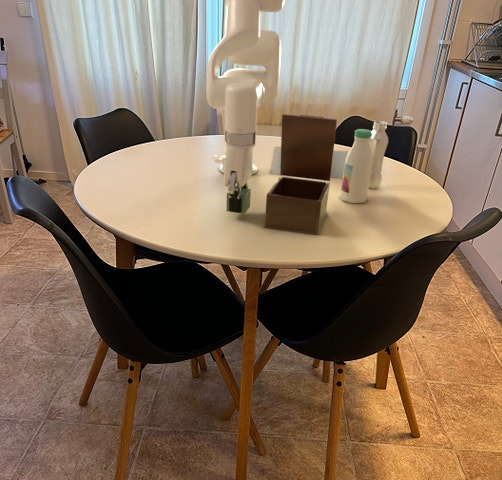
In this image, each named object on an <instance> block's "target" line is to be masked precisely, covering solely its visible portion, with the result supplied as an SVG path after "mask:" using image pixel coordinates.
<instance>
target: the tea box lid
mask: <svg viewBox="0 0 502 480" xmlns="http://www.w3.org/2000/svg"><path fill="white" fill-rule="evenodd" d="M337 123H338V118H337V119H336V118H328V117H327V118H326V117H324V116H319V115H310V114H309V115H308V114H307V115H306V114H300V115H294V114H285V113H282V115H281V135H280V137H281V139H280V148H281V164H280V174H279V175H280V176H282V177H290V178H298V179H306V180H314V181H323V182H330V181H331V178H332V177H331V169H332V160H333V151H335V150H334V149H335V141H336V132H337Z"/></svg>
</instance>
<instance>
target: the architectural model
mask: <svg viewBox="0 0 502 480" xmlns="http://www.w3.org/2000/svg"><path fill="white" fill-rule="evenodd" d="M348 153H349V152H348V151H340V150H334V151H333V160H332V169H331V178H334V179H343V174H344V168H345V162H346V158H347V155H348ZM280 164H281V146H280V147H277V146H276V148H275V154H274V157H273V163H272V168H271V172H270V173H271V174H276V175H280Z"/></svg>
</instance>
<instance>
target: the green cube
mask: <svg viewBox="0 0 502 480" xmlns="http://www.w3.org/2000/svg"><path fill="white" fill-rule="evenodd" d="M235 190H237V192H238V189H237V188H235ZM251 191H252V190H251V188H248V189H246V188H241V197H240V198H242V208H241V213H240V214H246V213H247V211H249V209H250V208H251ZM226 212H230V211H229V192H228V191H227V192H226Z"/></svg>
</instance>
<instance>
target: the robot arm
mask: <svg viewBox="0 0 502 480" xmlns="http://www.w3.org/2000/svg"><path fill="white" fill-rule="evenodd" d="M285 1H286V0H224V3H225V6H226V9H225V11H226V12H225V34H224V36H223V37H222V38H221V40H220V41H218V43H217V44H216V45H215V46H214V49H213V50H212V52H211V53H210V56H209V57H208V61H207V67H206V86H205V87H206V88H205V89H206V90H205V91H206V93H205V94H206V100H207V103H208V105H209V107H211V108H212V109H214V110H215V109H216V110H224V155H222V156H220V155H216V154H214V155H212V156H213V157H212V160H213V162H214V163H215V164H220V165H219V171H220V172H221V173H223V185H224V186H225V187H227V186H228V189H227V192H229V211H228V212H230V213H235V214H242V213H241V208H242V198H240V197H241V188H246V189H249V181H250V179H251V177H252V175H254V174H256V173H257V172H258V167H257V166H256V165H255V164H254V148H255V146H256V144H257V143H256V141H257V140H256V139H257V119H258V109H260V108H261V106H262V105H263V104H272V103H274V102H275V101H276V100H277V99H278V95H279V89H280V77H281V76H280V75H281V61H282V60H281V59H282V41H281V37H280V35H279V34H278V33H277V32H276V31H273V30H265V29H264V30H263V29H261V13H262V12H263V13H279V12H281V11H282V10H283V8H284V5H285ZM228 59H229V61H230V62H231V63H232V64H234V65H239V66H251V67H252V66H253V67H254V66H255V67H263V68H264V69H253V68H233V69H229V70H226V72H224V74H223V76H219V69H220V67H221V65H222V64H223V63H224V62H225V61H226V60H228ZM235 188H237V189H238V192H237V190H235Z"/></svg>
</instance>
